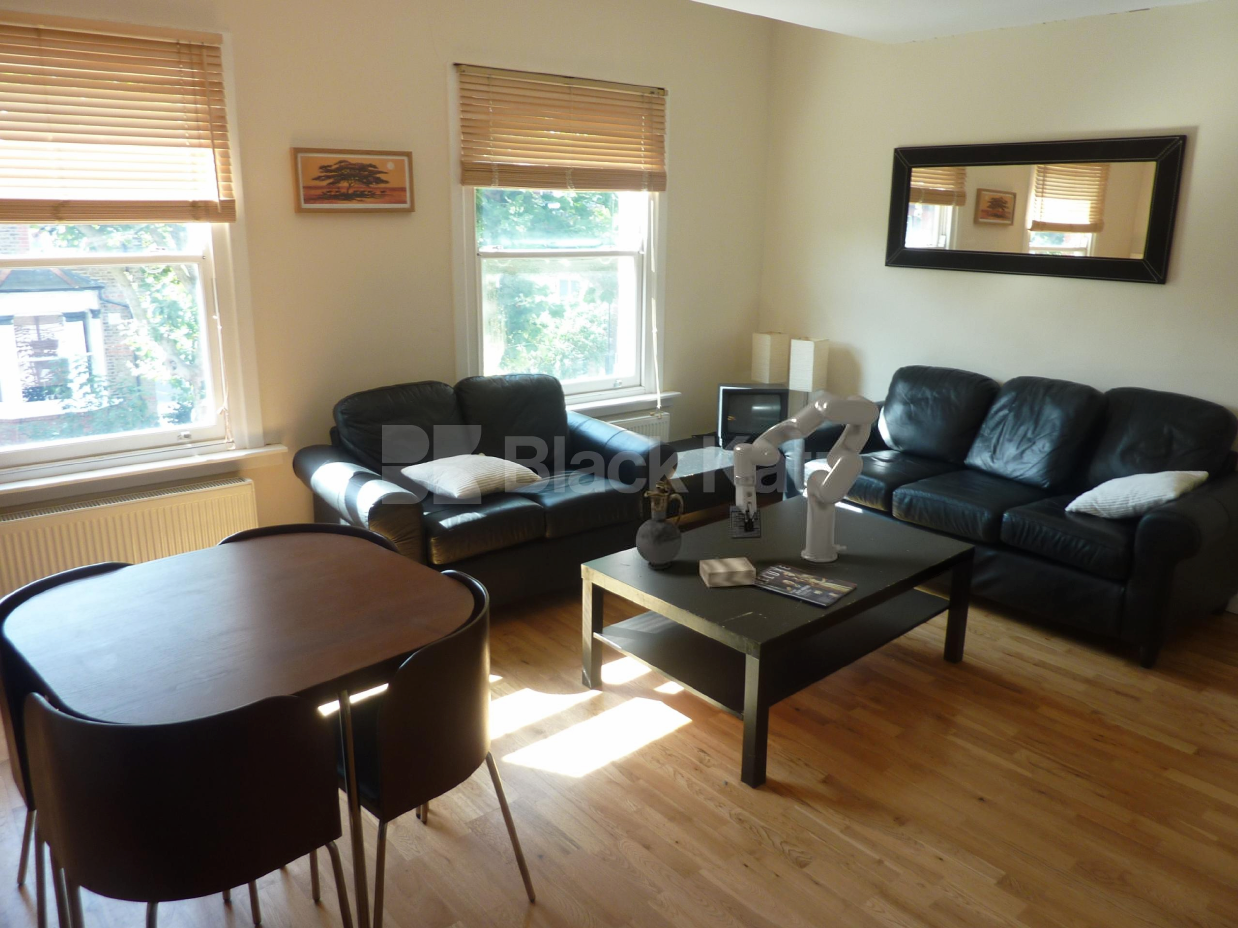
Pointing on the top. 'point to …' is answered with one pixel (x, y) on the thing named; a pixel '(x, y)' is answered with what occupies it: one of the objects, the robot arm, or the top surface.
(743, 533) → the small box
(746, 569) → the birch riser
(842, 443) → the robot arm
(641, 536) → the pitcher
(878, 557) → the top surface
